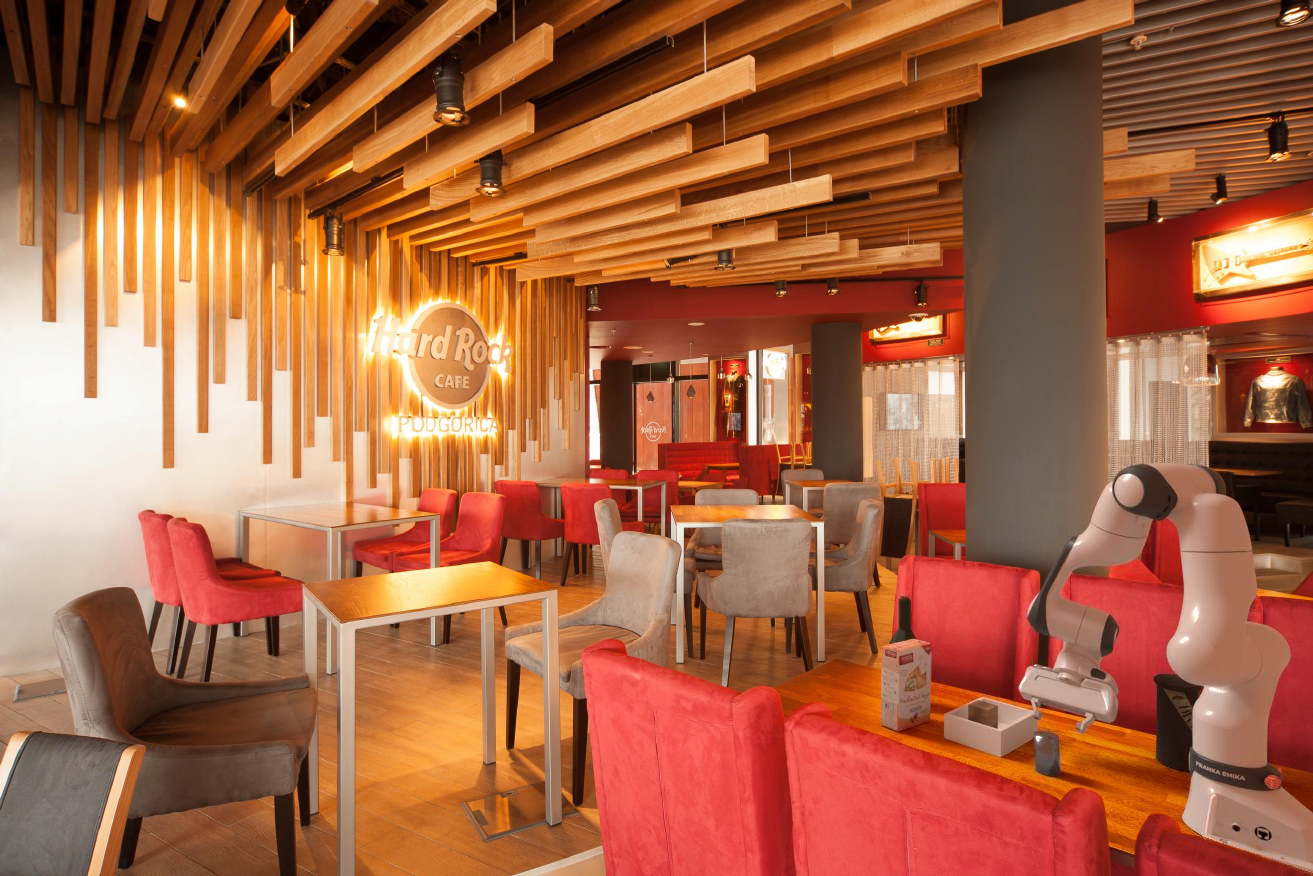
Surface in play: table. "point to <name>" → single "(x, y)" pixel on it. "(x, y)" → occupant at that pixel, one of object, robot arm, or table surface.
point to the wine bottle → (904, 622)
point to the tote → (991, 728)
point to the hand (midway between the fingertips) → (1057, 724)
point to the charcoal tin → (1047, 753)
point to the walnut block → (983, 713)
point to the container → (1174, 720)
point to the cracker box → (905, 684)
